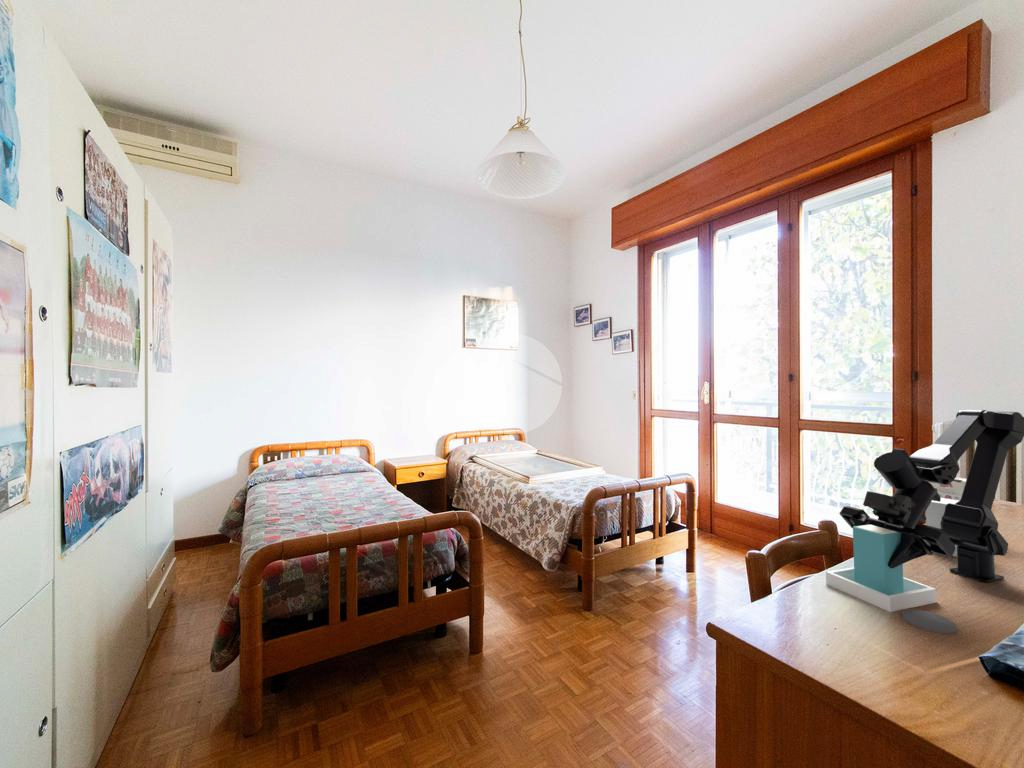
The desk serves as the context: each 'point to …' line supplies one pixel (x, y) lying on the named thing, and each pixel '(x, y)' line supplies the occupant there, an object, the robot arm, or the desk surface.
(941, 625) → the charcoal coaster
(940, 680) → the desk surface
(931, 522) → the small box
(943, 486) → the candy bar box
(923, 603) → the white tray
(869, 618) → the desk surface
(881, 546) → the teal carton
